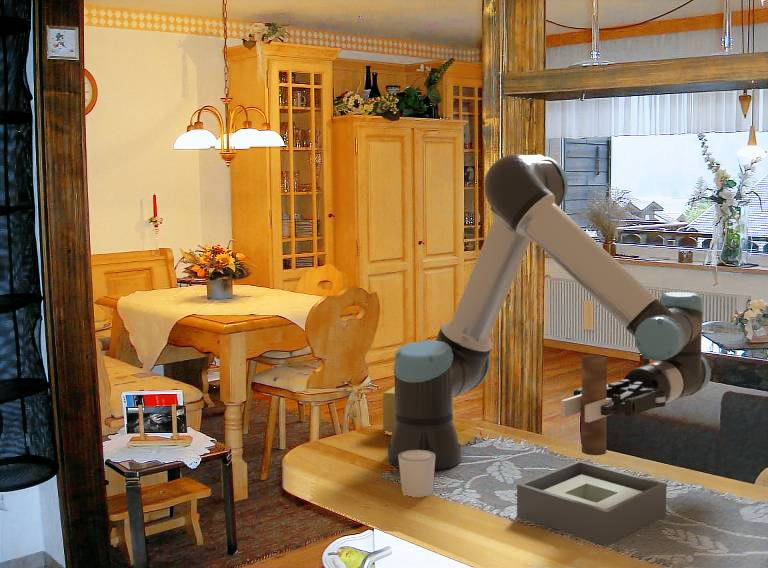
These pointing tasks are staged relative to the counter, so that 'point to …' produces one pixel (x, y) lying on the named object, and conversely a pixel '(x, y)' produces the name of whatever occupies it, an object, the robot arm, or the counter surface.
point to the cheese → (389, 410)
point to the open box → (591, 501)
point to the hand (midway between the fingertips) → (574, 411)
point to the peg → (592, 392)
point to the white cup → (417, 472)
